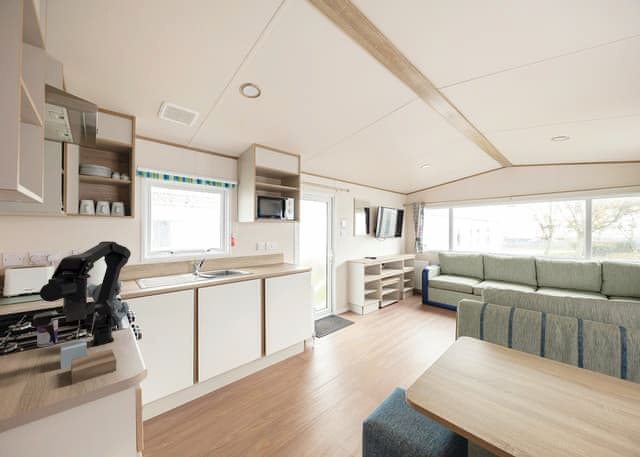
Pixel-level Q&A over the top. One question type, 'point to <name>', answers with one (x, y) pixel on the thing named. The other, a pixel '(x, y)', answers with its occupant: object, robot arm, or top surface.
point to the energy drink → (46, 335)
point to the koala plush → (120, 308)
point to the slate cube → (72, 352)
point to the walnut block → (92, 366)
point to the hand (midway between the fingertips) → (74, 339)
